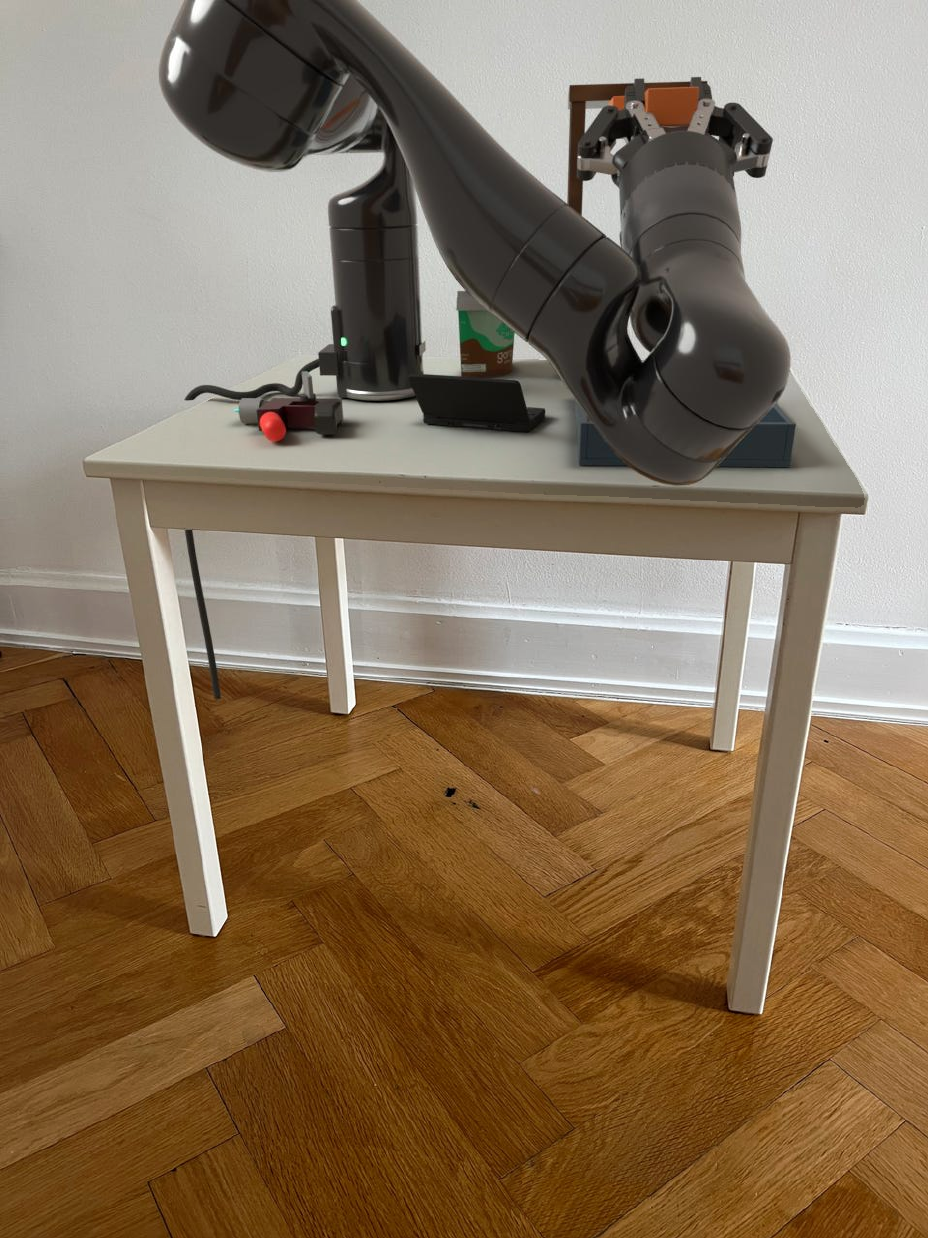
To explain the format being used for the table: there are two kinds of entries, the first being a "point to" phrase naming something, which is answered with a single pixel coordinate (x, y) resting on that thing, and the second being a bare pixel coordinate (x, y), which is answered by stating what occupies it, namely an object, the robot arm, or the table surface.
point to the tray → (756, 449)
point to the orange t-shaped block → (667, 105)
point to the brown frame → (578, 103)
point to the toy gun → (292, 412)
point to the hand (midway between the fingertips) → (665, 90)
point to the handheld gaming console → (474, 402)
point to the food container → (482, 340)
